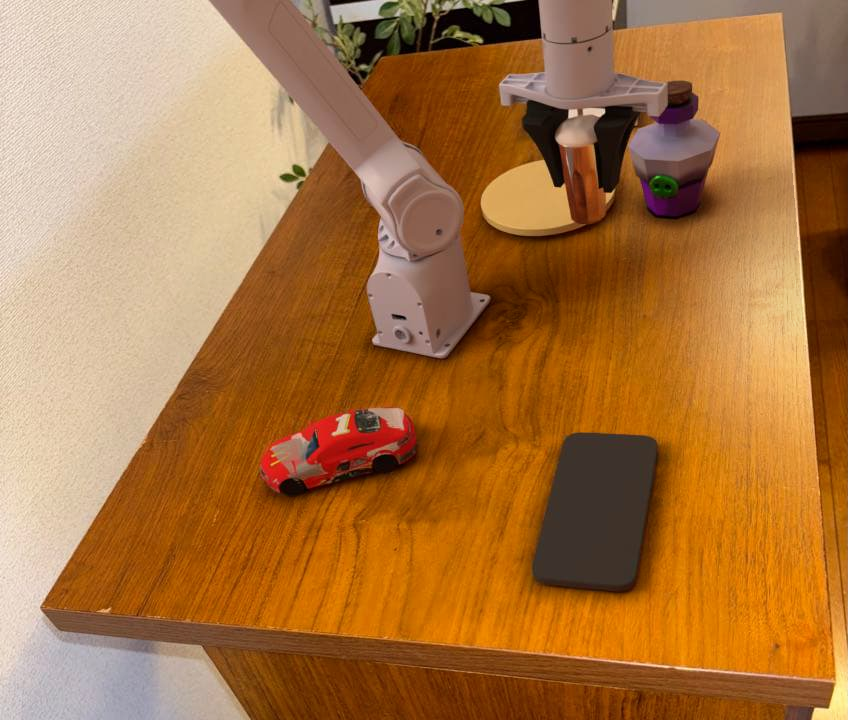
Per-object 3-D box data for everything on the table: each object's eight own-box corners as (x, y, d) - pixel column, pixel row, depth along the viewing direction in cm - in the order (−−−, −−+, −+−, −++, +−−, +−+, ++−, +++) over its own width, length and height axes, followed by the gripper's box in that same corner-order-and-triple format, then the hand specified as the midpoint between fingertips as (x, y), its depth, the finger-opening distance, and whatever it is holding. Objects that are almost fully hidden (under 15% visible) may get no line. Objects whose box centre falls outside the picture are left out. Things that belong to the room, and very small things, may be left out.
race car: (266, 505, 80) (251, 470, 77) (264, 461, 84) (249, 426, 81) (423, 466, 80) (413, 430, 77) (414, 424, 83) (404, 388, 80)
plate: (583, 249, 96) (582, 236, 95) (459, 232, 103) (457, 220, 102) (636, 176, 104) (636, 164, 103) (517, 164, 110) (516, 152, 109)
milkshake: (612, 194, 93) (605, 89, 85) (614, 225, 89) (606, 117, 82) (564, 201, 93) (552, 97, 86) (563, 231, 90) (552, 126, 83)
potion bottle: (633, 233, 97) (630, 114, 88) (626, 188, 102) (622, 72, 94) (723, 221, 95) (729, 99, 86) (711, 176, 101) (716, 58, 92)
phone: (527, 577, 69) (565, 431, 78) (528, 584, 70) (565, 438, 79) (634, 587, 67) (660, 435, 76) (634, 595, 67) (660, 443, 76)
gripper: (681, 9, 78) (679, 169, 88) (517, 6, 84) (533, 155, 94) (648, 49, 74) (651, 211, 84) (480, 42, 81) (500, 193, 91)
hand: (586, 184), depth 89 cm, fingers closed on milkshake, 4 cm apart
